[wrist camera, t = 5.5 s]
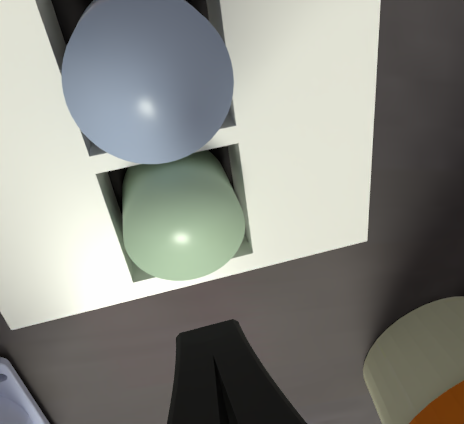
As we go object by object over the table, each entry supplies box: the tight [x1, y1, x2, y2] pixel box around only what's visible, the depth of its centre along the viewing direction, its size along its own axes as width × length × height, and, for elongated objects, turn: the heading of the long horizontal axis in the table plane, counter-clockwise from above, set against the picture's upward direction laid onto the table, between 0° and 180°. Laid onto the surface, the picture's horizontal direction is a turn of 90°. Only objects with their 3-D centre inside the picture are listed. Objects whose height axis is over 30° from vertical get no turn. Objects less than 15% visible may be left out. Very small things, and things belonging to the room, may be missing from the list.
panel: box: [0, 0, 381, 330], centre depth 13 cm, size 17×14×2 cm
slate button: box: [62, 0, 234, 164], centre depth 11 cm, size 4×4×3 cm
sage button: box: [122, 150, 245, 281], centre depth 15 cm, size 4×4×3 cm
